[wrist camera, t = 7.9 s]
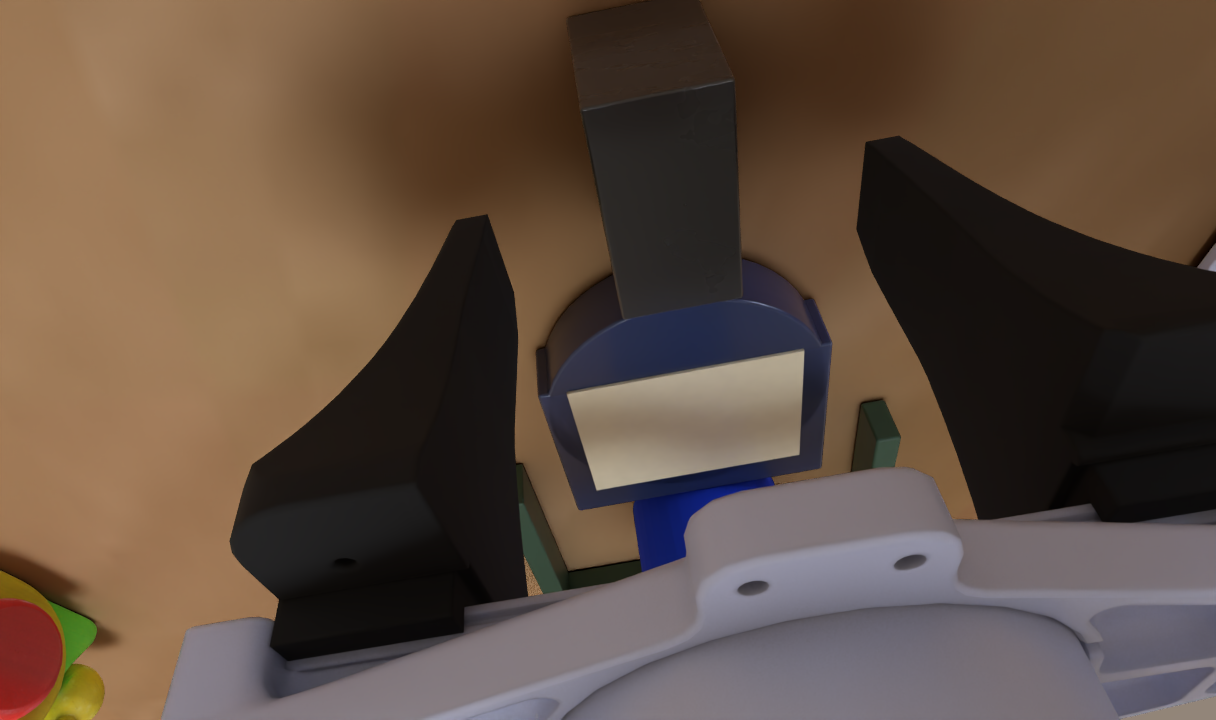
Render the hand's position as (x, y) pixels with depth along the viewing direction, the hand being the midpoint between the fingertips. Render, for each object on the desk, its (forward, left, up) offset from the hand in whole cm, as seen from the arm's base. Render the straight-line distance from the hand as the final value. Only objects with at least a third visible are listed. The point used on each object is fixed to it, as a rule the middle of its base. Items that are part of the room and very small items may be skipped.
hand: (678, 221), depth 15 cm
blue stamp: (-1, +5, -3) cm, 6 cm away
